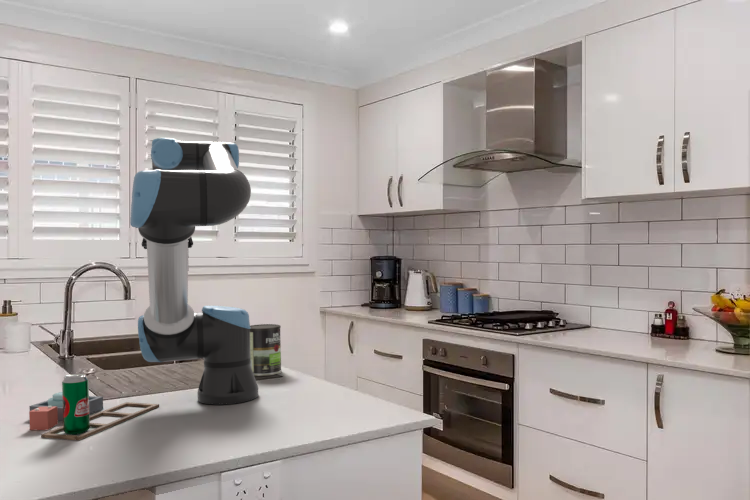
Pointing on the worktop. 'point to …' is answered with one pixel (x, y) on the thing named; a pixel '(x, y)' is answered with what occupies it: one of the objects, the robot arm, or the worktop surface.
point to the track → (102, 426)
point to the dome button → (56, 400)
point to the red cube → (43, 418)
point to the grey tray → (94, 406)
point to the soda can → (75, 404)
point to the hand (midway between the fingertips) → (169, 272)
